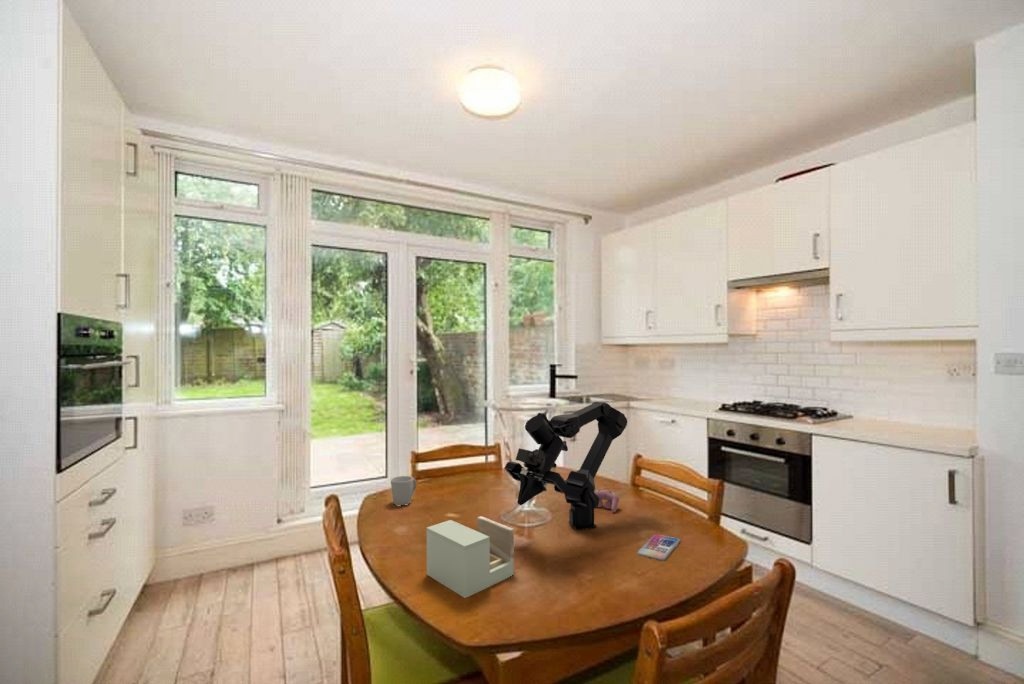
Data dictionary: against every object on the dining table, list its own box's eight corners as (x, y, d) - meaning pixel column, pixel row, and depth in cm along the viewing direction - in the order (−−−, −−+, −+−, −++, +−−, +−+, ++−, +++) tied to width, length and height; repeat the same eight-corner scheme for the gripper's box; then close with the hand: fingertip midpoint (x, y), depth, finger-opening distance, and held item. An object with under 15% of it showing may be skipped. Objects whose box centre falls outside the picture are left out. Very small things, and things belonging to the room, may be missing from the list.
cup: (386, 504, 159) (385, 479, 159) (408, 496, 167) (408, 473, 167) (401, 509, 154) (401, 483, 154) (423, 500, 162) (423, 476, 163)
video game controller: (618, 515, 151) (621, 493, 154) (614, 512, 148) (617, 490, 150) (589, 510, 156) (593, 489, 159) (585, 507, 153) (588, 486, 155)
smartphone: (635, 552, 119) (654, 533, 131) (635, 556, 119) (654, 536, 131) (664, 559, 115) (681, 538, 127) (664, 563, 115) (681, 542, 127)
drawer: (481, 555, 119) (481, 516, 119) (513, 571, 111) (513, 528, 111) (437, 573, 110) (437, 530, 110) (469, 592, 101) (469, 546, 101)
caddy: (474, 555, 119) (473, 512, 119) (513, 575, 109) (513, 527, 109) (426, 574, 109) (426, 527, 109) (465, 598, 99) (464, 546, 99)
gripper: (508, 432, 131) (479, 479, 123) (559, 441, 118) (529, 495, 110) (528, 455, 137) (501, 502, 129) (579, 467, 123) (551, 519, 115)
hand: (519, 504), depth 121 cm, fingers closed
